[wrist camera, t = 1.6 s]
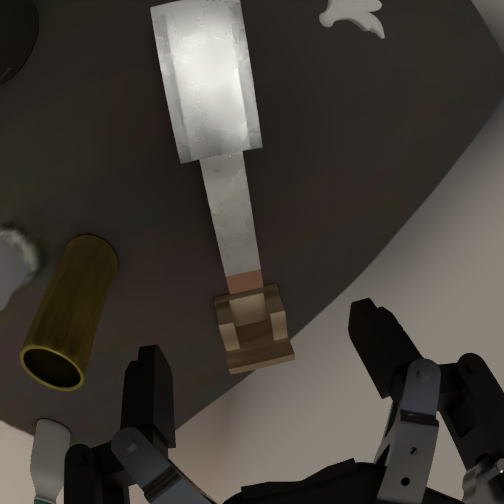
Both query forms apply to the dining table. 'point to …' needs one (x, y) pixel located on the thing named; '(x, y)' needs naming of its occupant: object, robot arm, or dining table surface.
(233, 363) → the socket
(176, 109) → the sleeve
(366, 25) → the acanthus leaf ornament
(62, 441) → the milk bottle
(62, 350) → the vase
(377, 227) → the dining table surface
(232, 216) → the white orange-tipped bar
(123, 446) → the robot arm
